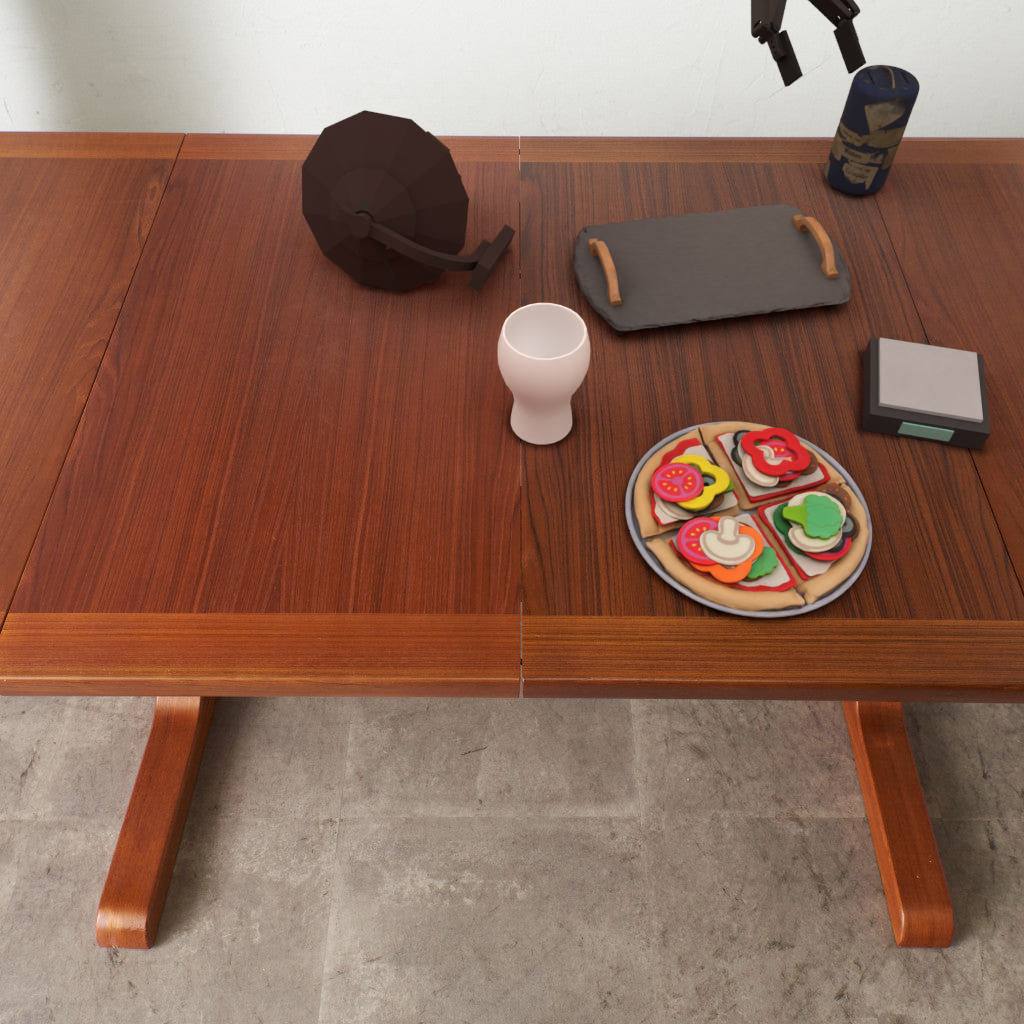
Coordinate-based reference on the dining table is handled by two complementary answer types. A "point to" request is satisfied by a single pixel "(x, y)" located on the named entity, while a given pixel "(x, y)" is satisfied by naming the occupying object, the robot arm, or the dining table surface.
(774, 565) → the toy pizza
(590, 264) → the serving tray
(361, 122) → the dark brown piece
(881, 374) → the scale
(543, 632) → the dining table surface
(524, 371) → the cup
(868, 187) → the canister
